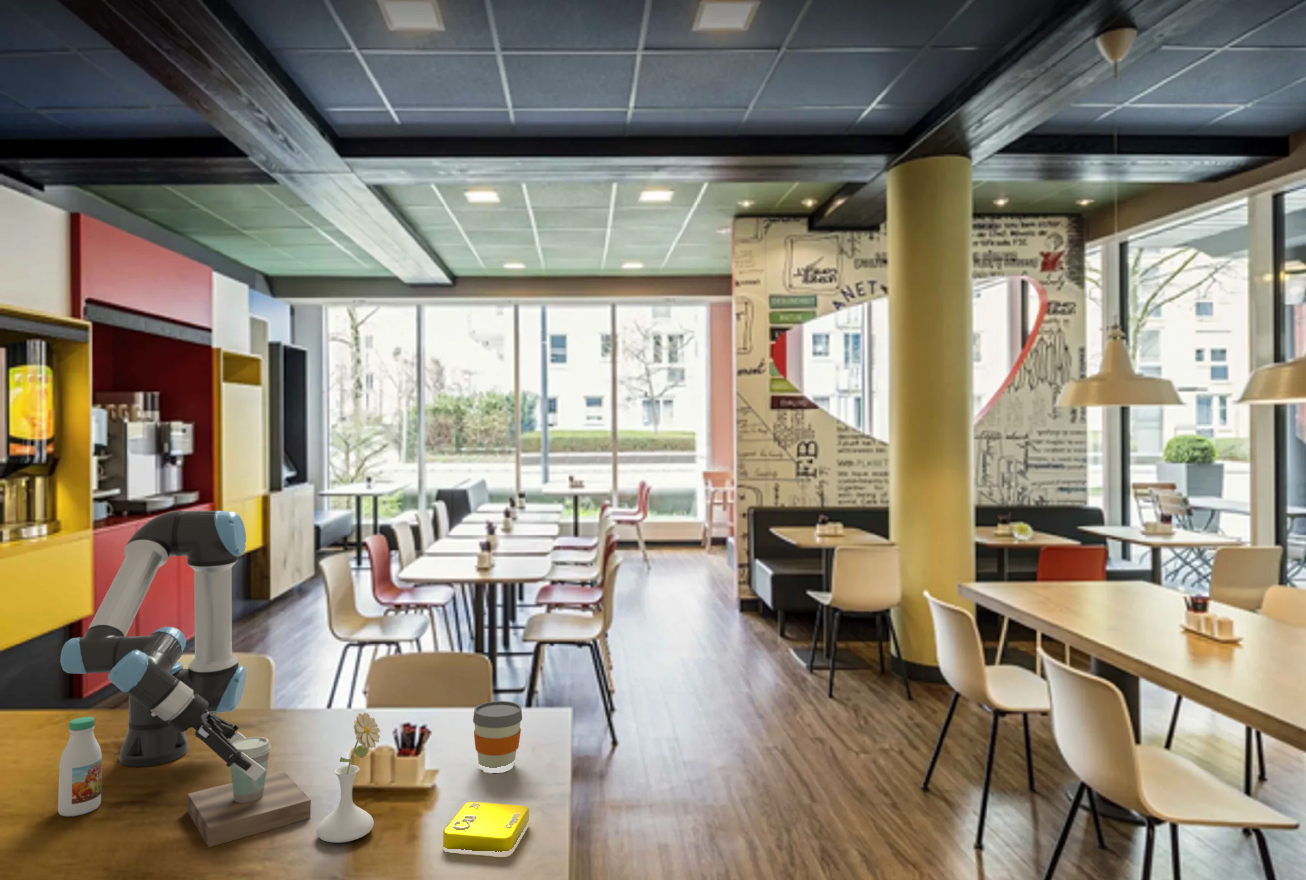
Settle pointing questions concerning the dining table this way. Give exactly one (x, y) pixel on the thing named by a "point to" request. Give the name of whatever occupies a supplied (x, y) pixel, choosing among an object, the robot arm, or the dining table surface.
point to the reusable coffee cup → (497, 732)
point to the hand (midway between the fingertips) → (257, 763)
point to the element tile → (486, 827)
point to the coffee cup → (241, 782)
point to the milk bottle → (80, 770)
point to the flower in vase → (347, 816)
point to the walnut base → (247, 809)
